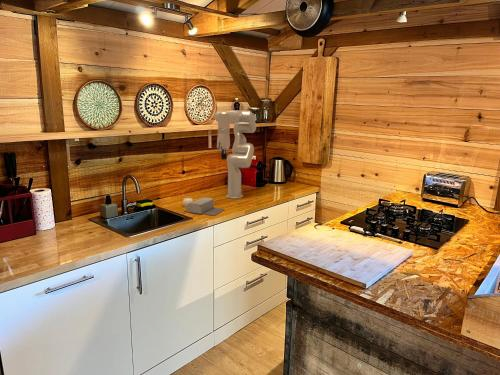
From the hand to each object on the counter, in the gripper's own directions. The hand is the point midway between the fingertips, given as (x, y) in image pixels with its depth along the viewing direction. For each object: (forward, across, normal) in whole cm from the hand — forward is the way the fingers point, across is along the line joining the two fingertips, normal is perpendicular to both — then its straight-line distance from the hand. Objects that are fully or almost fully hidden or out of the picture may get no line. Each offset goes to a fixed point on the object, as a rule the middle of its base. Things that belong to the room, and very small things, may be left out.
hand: (223, 159), depth 252 cm
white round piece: (+31, +14, -20) cm, 40 cm away
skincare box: (+27, +11, -5) cm, 30 cm away
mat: (+31, +18, -4) cm, 36 cm away
